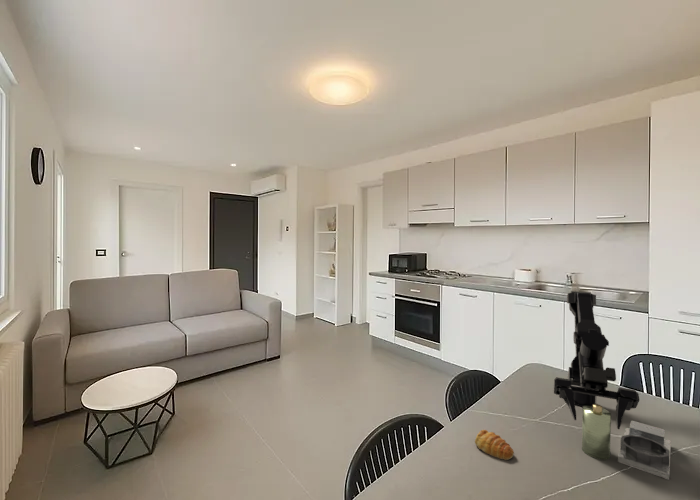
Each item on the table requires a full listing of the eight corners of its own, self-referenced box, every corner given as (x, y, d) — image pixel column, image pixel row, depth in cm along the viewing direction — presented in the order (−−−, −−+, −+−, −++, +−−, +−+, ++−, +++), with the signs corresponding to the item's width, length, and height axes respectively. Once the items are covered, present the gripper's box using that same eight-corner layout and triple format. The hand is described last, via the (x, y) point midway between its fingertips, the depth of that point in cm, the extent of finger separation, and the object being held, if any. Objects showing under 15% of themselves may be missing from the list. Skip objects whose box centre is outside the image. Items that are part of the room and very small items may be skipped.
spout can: (580, 443, 94) (581, 396, 94) (607, 449, 91) (608, 401, 91) (583, 455, 89) (584, 405, 89) (612, 462, 86) (613, 411, 86)
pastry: (519, 455, 89) (519, 441, 89) (504, 465, 85) (504, 450, 85) (486, 438, 97) (486, 425, 97) (471, 447, 93) (471, 433, 93)
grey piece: (617, 462, 86) (618, 444, 86) (625, 433, 99) (626, 417, 99) (669, 480, 80) (669, 460, 80) (670, 446, 93) (670, 429, 93)
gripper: (554, 349, 98) (555, 403, 89) (638, 359, 90) (649, 421, 80) (553, 367, 106) (554, 419, 96) (630, 379, 97) (640, 438, 87)
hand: (596, 424), depth 90 cm, fingers open, 9 cm apart
